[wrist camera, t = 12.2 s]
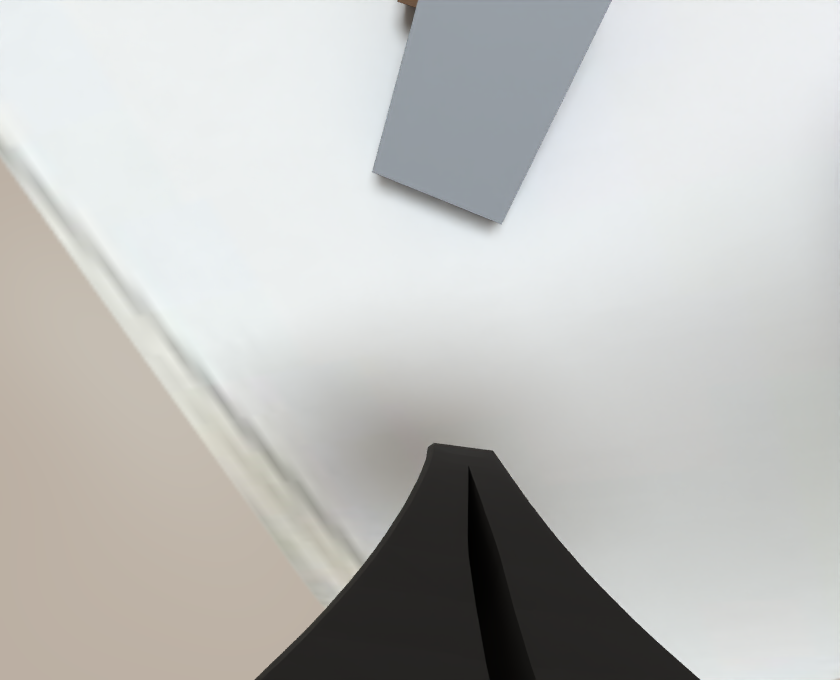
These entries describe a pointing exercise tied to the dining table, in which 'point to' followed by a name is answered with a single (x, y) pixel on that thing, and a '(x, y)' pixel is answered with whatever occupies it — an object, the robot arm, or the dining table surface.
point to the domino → (481, 95)
